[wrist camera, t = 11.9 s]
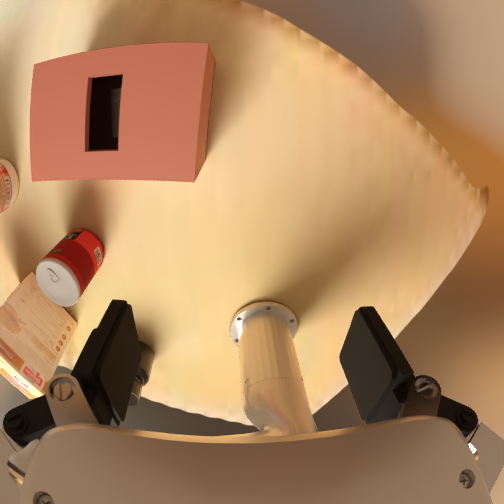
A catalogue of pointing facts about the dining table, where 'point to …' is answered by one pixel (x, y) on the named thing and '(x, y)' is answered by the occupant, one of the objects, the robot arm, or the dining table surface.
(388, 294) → the dining table surface
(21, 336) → the coffeecake box
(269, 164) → the dining table surface
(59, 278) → the canned food
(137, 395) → the ink bottle
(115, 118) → the block
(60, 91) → the box
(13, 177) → the fruit juice
